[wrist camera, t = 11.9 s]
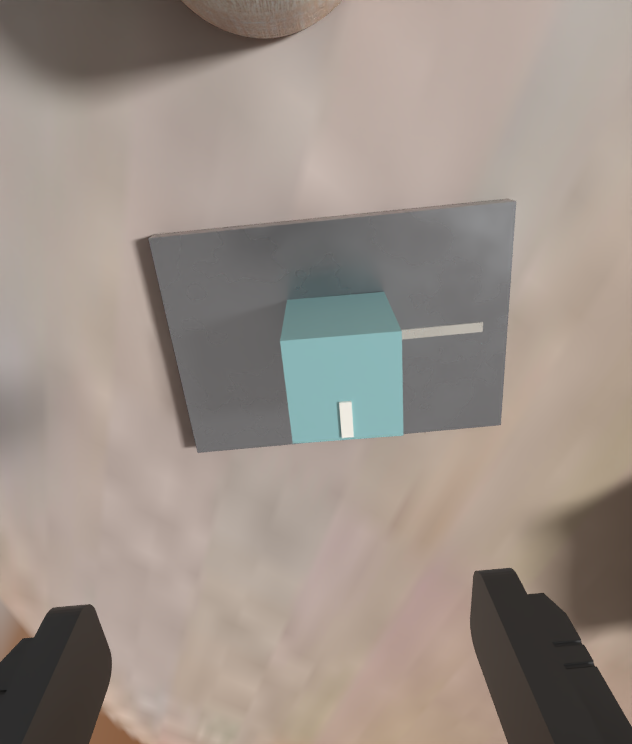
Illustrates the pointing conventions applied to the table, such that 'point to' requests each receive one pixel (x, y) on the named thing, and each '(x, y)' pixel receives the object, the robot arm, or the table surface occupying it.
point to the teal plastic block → (342, 368)
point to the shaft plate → (334, 278)
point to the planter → (262, 15)
